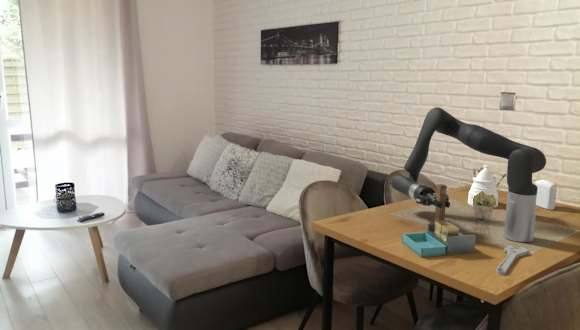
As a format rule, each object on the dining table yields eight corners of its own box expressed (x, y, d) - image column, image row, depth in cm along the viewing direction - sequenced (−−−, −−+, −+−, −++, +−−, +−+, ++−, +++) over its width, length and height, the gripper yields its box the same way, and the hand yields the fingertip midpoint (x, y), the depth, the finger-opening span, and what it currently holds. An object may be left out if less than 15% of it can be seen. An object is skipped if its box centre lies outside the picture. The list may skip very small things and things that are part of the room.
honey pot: (470, 199, 216) (473, 162, 212) (499, 202, 209) (502, 165, 206) (465, 205, 205) (468, 167, 201) (496, 209, 198) (499, 170, 195)
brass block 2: (451, 235, 153) (452, 224, 152) (458, 239, 149) (459, 228, 148) (441, 236, 152) (441, 225, 152) (447, 240, 148) (448, 228, 148)
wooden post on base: (436, 225, 171) (439, 182, 167) (449, 232, 162) (452, 187, 159) (429, 225, 170) (431, 182, 167) (441, 233, 161) (444, 187, 158)
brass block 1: (444, 231, 157) (445, 220, 157) (450, 235, 153) (451, 223, 153) (434, 231, 157) (435, 221, 156) (440, 235, 153) (441, 224, 152)
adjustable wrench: (504, 277, 131) (504, 271, 131) (482, 271, 135) (482, 265, 135) (528, 253, 149) (529, 248, 149) (508, 248, 154) (509, 243, 153)
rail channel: (450, 238, 162) (452, 222, 161) (474, 252, 148) (475, 235, 147) (425, 240, 160) (426, 224, 159) (447, 255, 146) (448, 237, 145)
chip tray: (425, 240, 160) (425, 232, 159) (446, 255, 146) (446, 246, 146) (401, 241, 158) (402, 233, 157) (421, 257, 144) (421, 248, 144)
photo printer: (530, 204, 207) (533, 178, 205) (538, 203, 208) (541, 177, 206) (547, 210, 197) (551, 183, 195) (556, 209, 198) (559, 182, 196)
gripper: (406, 185, 176) (428, 196, 159) (438, 183, 179) (463, 194, 162) (405, 203, 177) (427, 216, 160) (437, 201, 180) (461, 214, 163)
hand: (445, 205), depth 161 cm, fingers closed on wooden post on base, 2 cm apart
